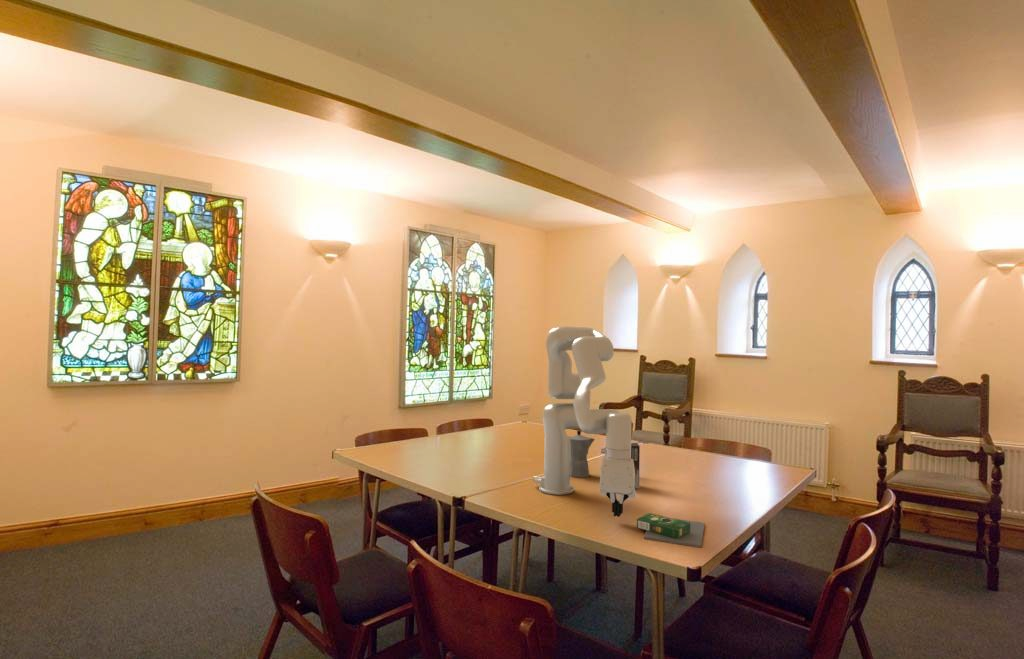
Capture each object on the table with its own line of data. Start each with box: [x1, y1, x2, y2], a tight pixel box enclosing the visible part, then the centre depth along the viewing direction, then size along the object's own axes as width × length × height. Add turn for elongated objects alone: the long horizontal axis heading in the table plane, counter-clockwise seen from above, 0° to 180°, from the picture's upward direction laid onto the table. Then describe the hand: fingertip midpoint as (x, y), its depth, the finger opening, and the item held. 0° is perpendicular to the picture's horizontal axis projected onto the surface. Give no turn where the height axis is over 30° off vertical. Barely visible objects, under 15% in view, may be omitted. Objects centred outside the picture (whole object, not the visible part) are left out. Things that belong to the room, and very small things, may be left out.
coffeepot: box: [568, 430, 596, 479], centre depth 223 cm, size 15×9×18 cm, turn 94°
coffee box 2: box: [636, 512, 690, 539], centre depth 157 cm, size 8×3×13 cm
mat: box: [643, 517, 706, 548], centre depth 158 cm, size 15×20×1 cm
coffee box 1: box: [631, 442, 641, 489], centre depth 207 cm, size 9×6×16 cm
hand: (617, 515), depth 164 cm, fingers closed
